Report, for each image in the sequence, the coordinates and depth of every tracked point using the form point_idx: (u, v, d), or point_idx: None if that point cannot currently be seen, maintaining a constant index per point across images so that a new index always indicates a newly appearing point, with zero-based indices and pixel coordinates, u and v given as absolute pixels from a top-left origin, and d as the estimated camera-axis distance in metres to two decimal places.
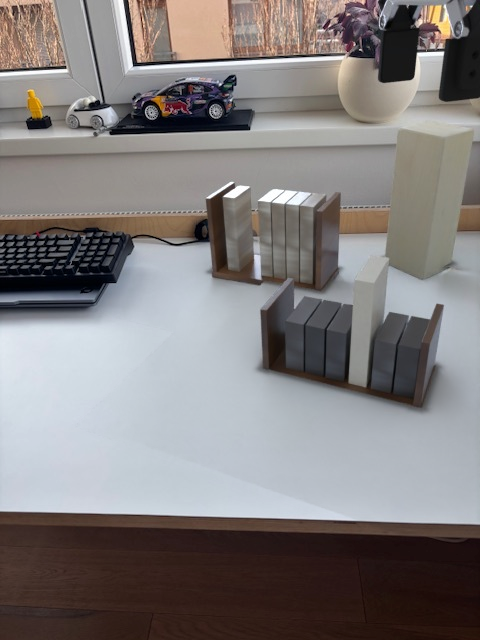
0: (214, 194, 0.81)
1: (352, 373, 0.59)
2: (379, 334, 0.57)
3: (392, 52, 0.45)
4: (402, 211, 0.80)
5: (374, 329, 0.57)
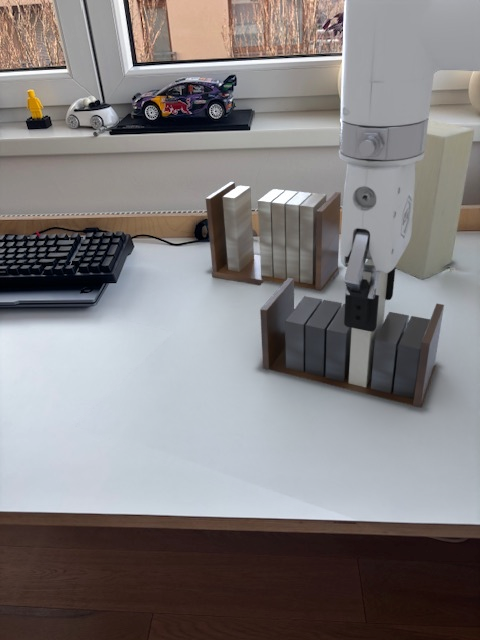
0: (214, 194, 0.81)
1: (352, 373, 0.59)
2: (379, 334, 0.57)
3: None
4: None
5: None
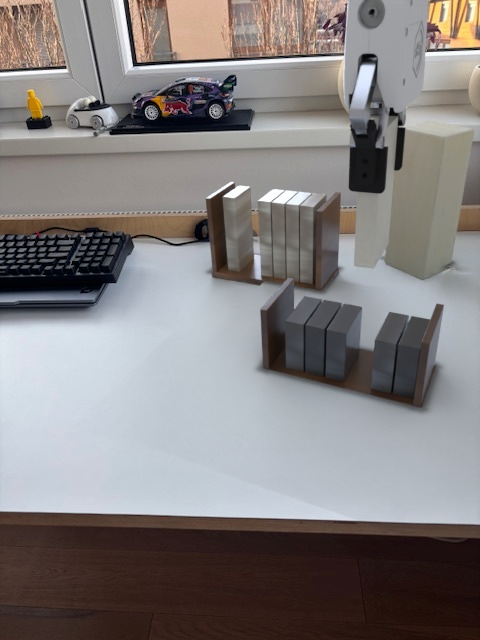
0: (214, 194, 0.81)
1: (358, 252, 0.53)
2: (379, 334, 0.57)
3: None
4: (402, 211, 0.80)
5: (382, 198, 0.51)
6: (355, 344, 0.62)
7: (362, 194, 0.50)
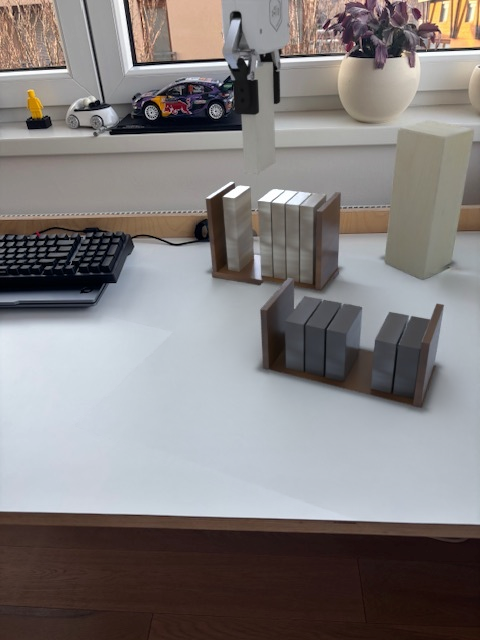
0: (214, 194, 0.81)
1: (246, 162, 0.73)
2: (379, 334, 0.57)
3: None
4: (402, 211, 0.80)
5: (261, 120, 0.71)
6: (355, 344, 0.62)
7: (245, 116, 0.69)
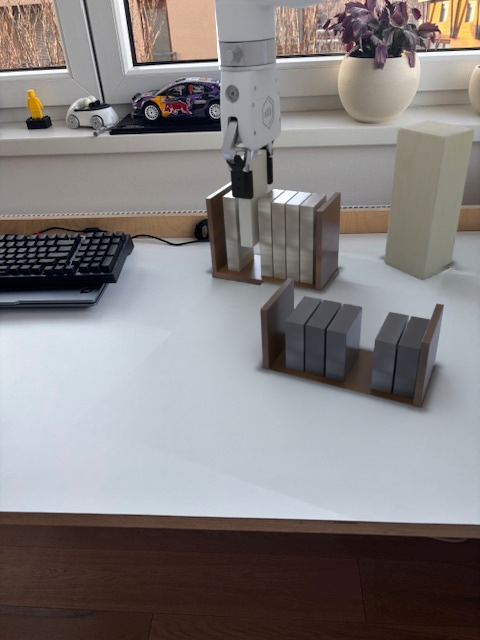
0: (214, 194, 0.81)
1: (242, 237, 0.81)
2: (379, 334, 0.57)
3: None
4: (402, 211, 0.80)
5: (255, 202, 0.79)
6: (355, 344, 0.62)
7: (241, 199, 0.78)
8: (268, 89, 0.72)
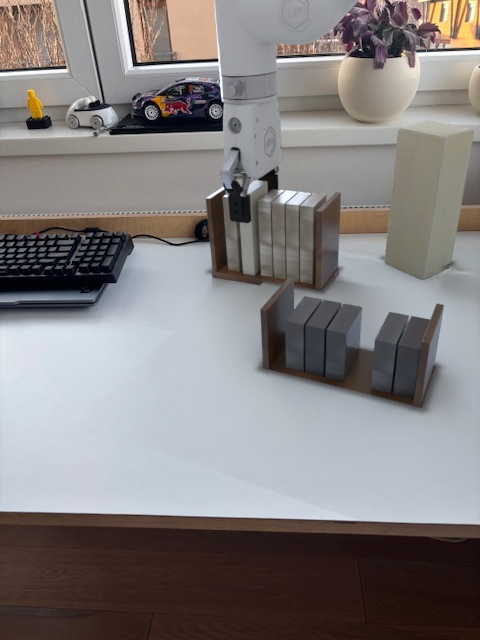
0: (214, 194, 0.81)
1: (244, 265, 0.84)
2: (379, 334, 0.57)
3: None
4: (402, 211, 0.80)
5: (257, 231, 0.82)
6: (355, 344, 0.62)
7: (243, 229, 0.81)
8: (269, 120, 0.74)
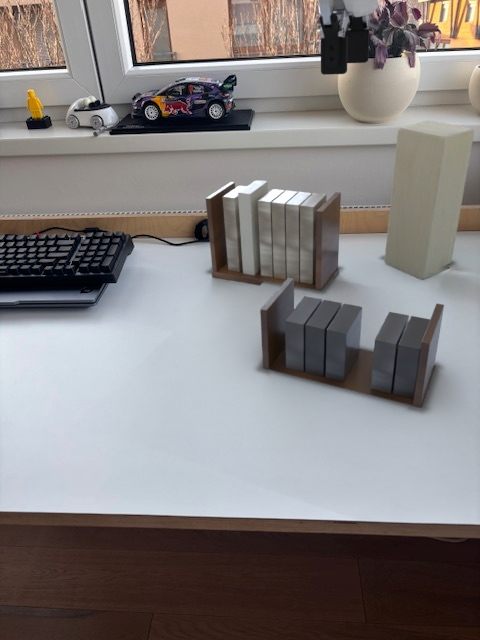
0: (214, 194, 0.81)
1: (244, 265, 0.84)
2: (379, 334, 0.57)
3: (350, 44, 0.73)
4: (402, 211, 0.80)
5: (257, 231, 0.82)
6: (355, 344, 0.62)
7: (243, 229, 0.81)
8: None
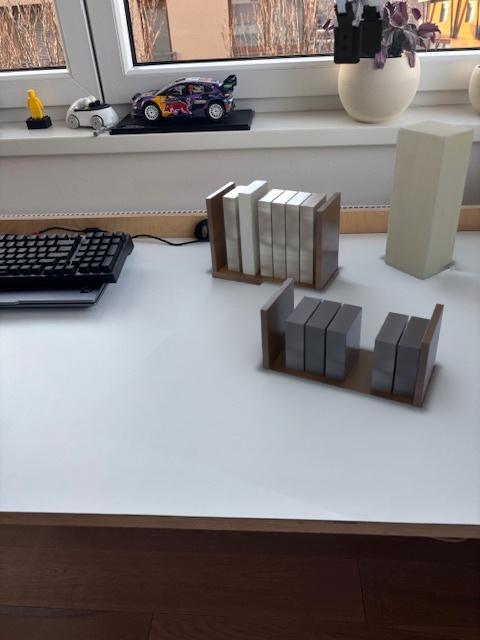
0: (214, 194, 0.81)
1: (244, 265, 0.84)
2: (379, 334, 0.57)
3: (363, 34, 0.73)
4: (402, 211, 0.80)
5: (257, 231, 0.82)
6: (355, 344, 0.62)
7: (243, 229, 0.81)
8: None
